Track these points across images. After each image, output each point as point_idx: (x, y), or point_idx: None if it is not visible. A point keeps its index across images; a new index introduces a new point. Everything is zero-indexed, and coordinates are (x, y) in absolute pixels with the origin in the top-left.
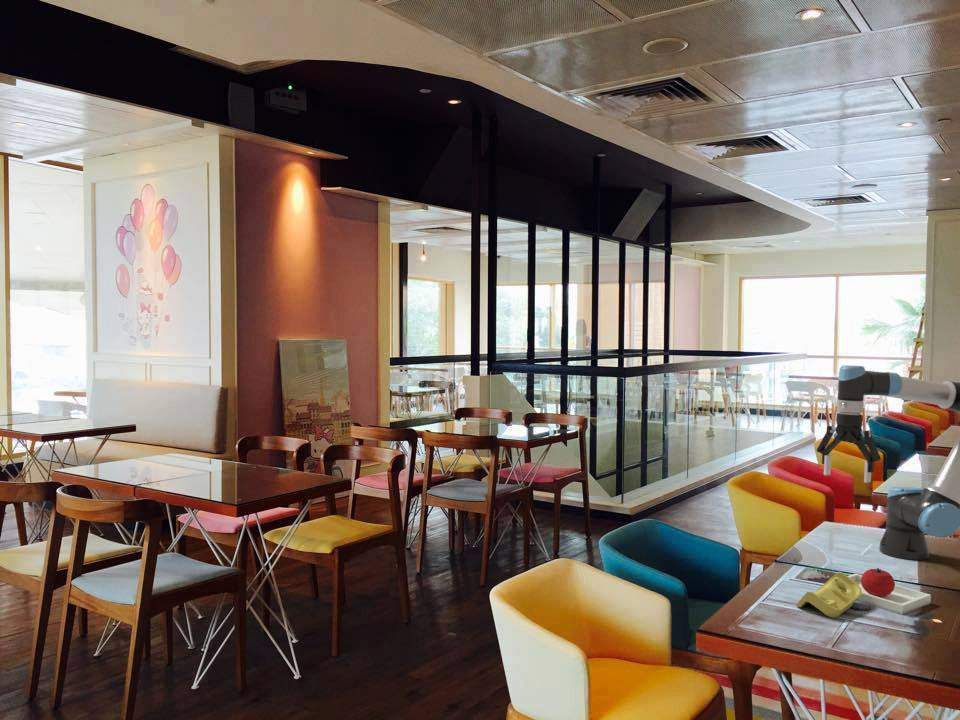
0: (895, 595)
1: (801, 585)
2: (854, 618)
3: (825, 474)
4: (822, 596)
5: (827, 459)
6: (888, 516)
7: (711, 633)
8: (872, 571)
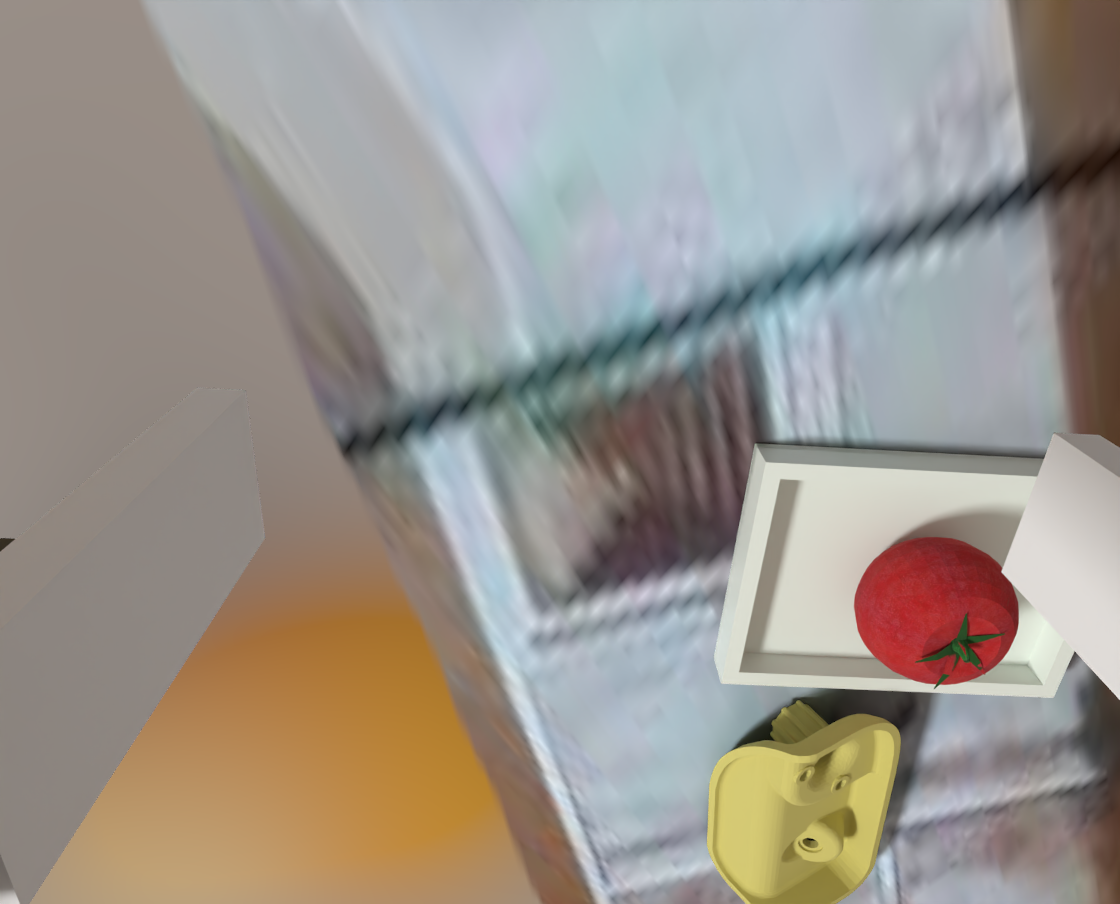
0: (975, 516)
1: (609, 672)
2: (897, 808)
3: (250, 543)
4: (788, 841)
5: (89, 761)
6: None
7: None
8: (941, 679)
